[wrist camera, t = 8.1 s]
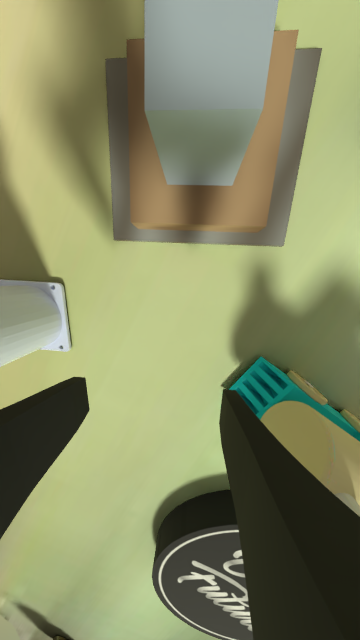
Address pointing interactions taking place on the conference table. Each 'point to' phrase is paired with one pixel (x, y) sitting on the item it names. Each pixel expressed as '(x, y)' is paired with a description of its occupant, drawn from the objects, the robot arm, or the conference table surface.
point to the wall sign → (204, 567)
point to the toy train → (306, 427)
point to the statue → (59, 638)
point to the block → (205, 83)
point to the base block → (210, 200)
